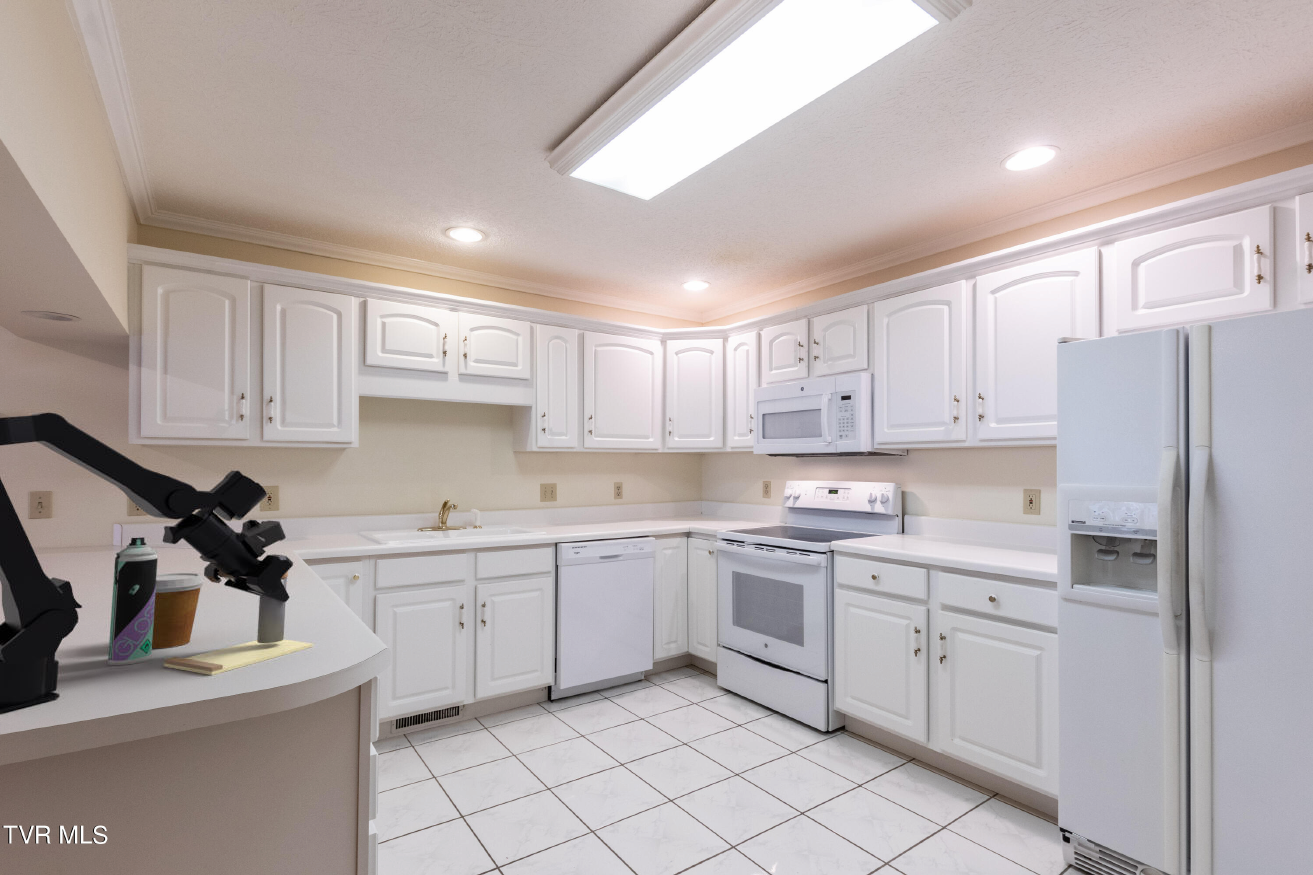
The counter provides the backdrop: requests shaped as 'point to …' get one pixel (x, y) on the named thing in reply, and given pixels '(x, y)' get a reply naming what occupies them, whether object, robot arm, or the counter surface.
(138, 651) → the spray can
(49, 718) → the counter surface
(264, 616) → the ball
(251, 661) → the legal pad
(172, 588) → the disposable coffee cup
